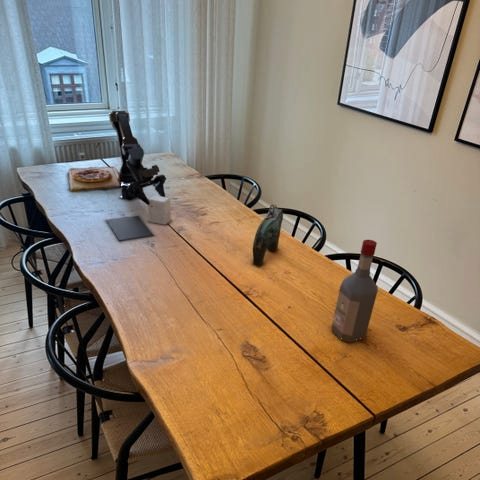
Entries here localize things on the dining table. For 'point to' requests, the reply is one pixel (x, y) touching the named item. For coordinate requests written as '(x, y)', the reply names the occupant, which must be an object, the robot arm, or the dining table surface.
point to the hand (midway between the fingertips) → (157, 201)
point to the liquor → (356, 299)
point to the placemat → (129, 228)
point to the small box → (159, 209)
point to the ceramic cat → (267, 235)
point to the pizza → (93, 178)
